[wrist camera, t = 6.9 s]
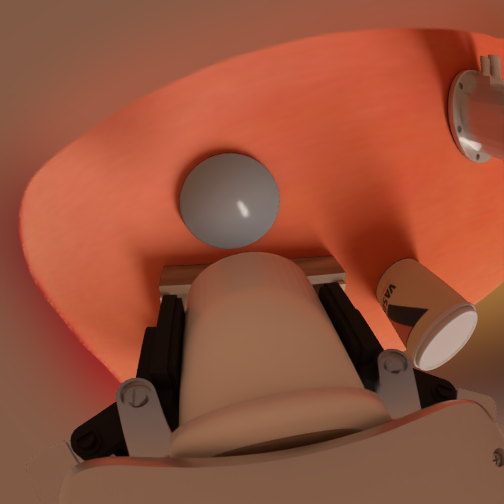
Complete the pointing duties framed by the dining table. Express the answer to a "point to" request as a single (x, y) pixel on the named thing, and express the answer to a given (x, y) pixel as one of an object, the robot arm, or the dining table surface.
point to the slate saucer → (229, 200)
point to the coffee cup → (425, 313)
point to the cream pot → (264, 364)
